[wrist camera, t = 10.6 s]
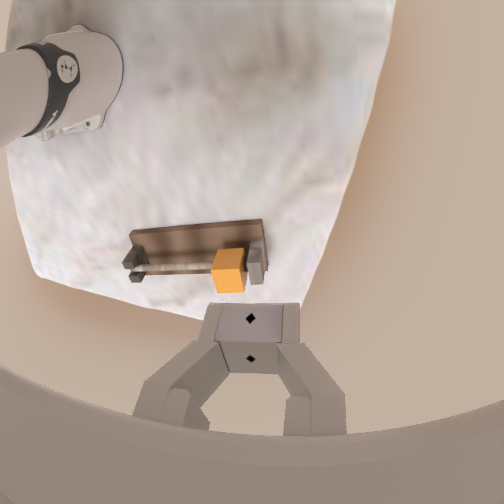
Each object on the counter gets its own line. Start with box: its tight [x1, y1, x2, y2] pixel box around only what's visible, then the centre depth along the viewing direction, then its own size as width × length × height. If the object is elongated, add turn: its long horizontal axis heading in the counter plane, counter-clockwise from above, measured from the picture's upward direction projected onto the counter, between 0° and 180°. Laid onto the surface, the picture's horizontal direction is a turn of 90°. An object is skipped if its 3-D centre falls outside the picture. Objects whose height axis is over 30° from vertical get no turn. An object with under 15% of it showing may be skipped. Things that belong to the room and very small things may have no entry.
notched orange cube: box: [211, 248, 248, 293], centre depth 43 cm, size 4×4×5 cm
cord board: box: [122, 219, 268, 285], centre depth 46 cm, size 23×9×8 cm, turn 98°
